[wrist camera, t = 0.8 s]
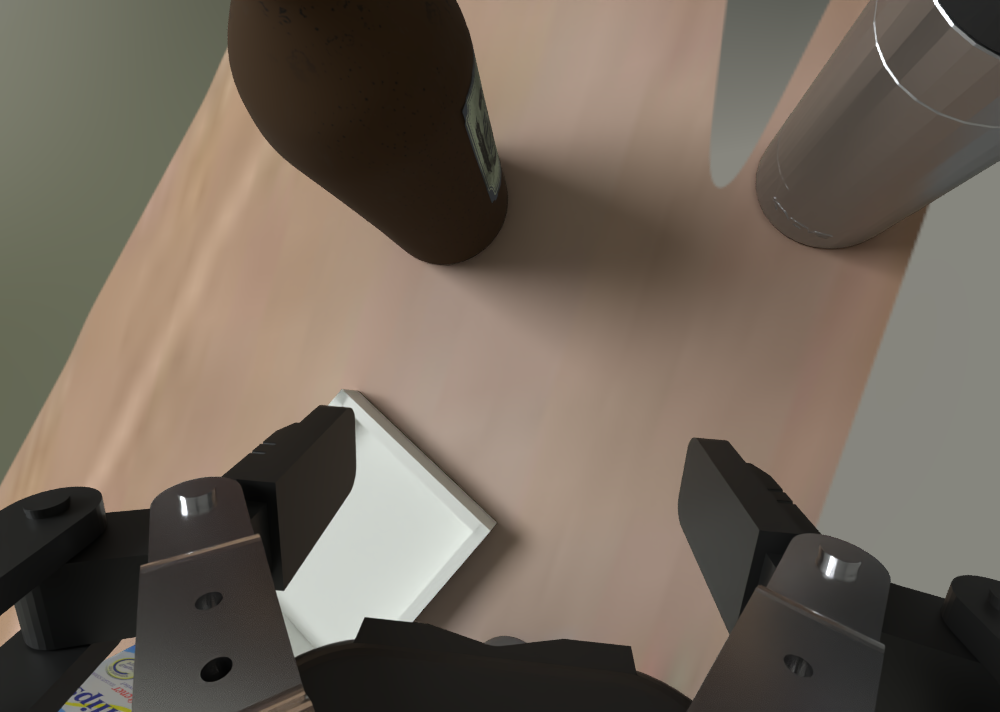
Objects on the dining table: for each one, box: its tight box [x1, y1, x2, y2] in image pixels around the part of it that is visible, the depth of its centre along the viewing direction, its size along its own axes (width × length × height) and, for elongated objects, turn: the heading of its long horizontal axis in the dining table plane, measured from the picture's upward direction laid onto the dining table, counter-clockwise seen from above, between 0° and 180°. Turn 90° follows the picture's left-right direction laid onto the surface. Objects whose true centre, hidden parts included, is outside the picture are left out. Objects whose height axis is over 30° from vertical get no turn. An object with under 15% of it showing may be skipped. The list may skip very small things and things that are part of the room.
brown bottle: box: [228, 0, 508, 264], centre depth 25 cm, size 11×11×25 cm
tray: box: [276, 389, 497, 657], centre depth 35 cm, size 16×14×2 cm
